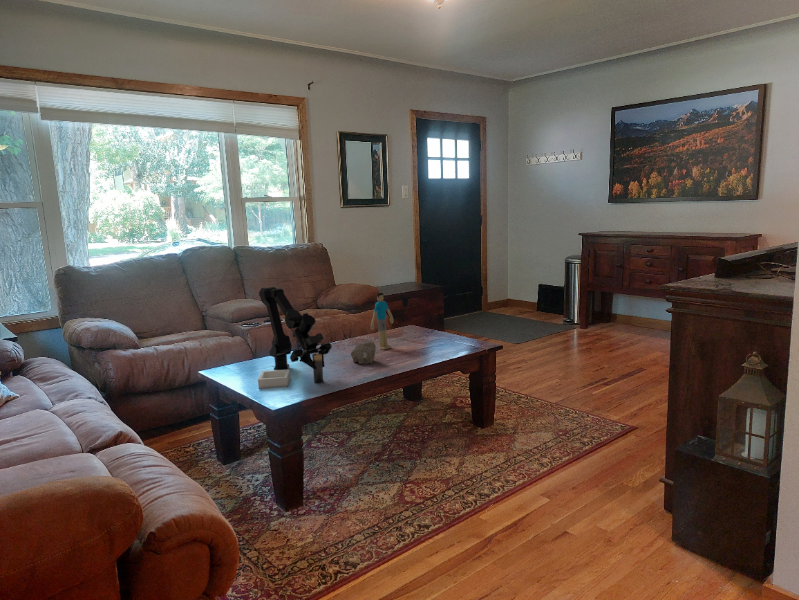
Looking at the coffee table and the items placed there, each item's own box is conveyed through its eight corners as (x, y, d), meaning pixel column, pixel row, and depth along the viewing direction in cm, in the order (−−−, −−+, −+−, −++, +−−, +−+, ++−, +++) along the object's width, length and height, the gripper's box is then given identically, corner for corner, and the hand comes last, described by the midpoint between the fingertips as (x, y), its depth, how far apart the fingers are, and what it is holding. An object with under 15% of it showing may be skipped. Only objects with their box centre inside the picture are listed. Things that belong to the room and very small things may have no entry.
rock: (345, 353, 257) (348, 343, 264) (353, 370, 261) (355, 360, 268) (373, 347, 254) (375, 337, 261) (380, 364, 259) (381, 354, 266)
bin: (263, 379, 241) (262, 371, 240) (290, 378, 242) (289, 369, 241) (258, 388, 229) (257, 379, 228) (287, 386, 230) (286, 377, 229)
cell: (314, 380, 237) (312, 351, 235) (323, 380, 237) (321, 351, 235) (313, 383, 233) (311, 354, 231) (323, 382, 233) (321, 353, 231)
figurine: (377, 352, 279) (374, 295, 274) (368, 350, 284) (366, 294, 279) (399, 346, 290) (397, 291, 285) (391, 344, 295) (389, 290, 290)
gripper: (291, 331, 228) (307, 362, 222) (328, 324, 240) (344, 352, 234) (283, 346, 235) (298, 376, 229) (319, 339, 247) (334, 367, 241)
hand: (319, 367), depth 233 cm, fingers closed on cell, 4 cm apart
